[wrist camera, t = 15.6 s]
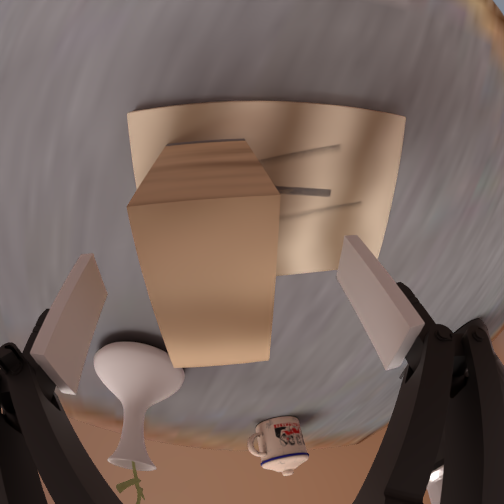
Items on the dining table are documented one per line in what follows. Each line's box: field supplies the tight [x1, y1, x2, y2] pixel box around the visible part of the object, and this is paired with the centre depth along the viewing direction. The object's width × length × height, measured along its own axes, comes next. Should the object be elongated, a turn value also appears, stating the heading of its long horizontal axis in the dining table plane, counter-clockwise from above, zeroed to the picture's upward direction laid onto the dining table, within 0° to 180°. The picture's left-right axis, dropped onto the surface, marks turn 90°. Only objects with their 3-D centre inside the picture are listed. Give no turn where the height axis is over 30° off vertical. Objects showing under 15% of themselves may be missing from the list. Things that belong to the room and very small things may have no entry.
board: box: [127, 101, 406, 276], centre depth 21 cm, size 20×14×2 cm
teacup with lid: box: [248, 416, 309, 476], centre depth 42 cm, size 12×9×12 cm
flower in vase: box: [94, 342, 185, 504], centre depth 21 cm, size 13×11×25 cm
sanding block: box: [127, 138, 281, 368], centre depth 15 cm, size 9×5×10 cm, turn 0°
